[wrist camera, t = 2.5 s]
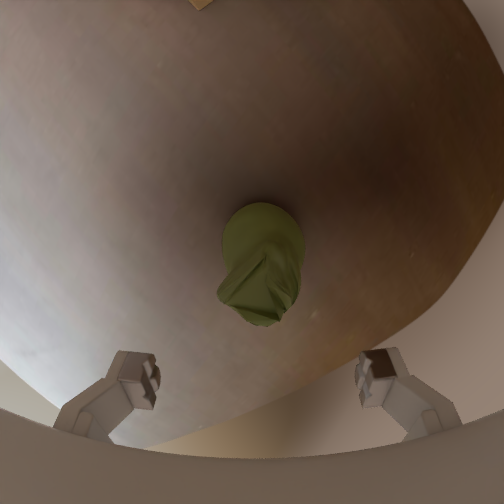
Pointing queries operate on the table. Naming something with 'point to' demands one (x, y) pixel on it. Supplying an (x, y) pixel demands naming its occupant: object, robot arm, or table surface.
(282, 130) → the table surface
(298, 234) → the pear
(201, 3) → the bin
